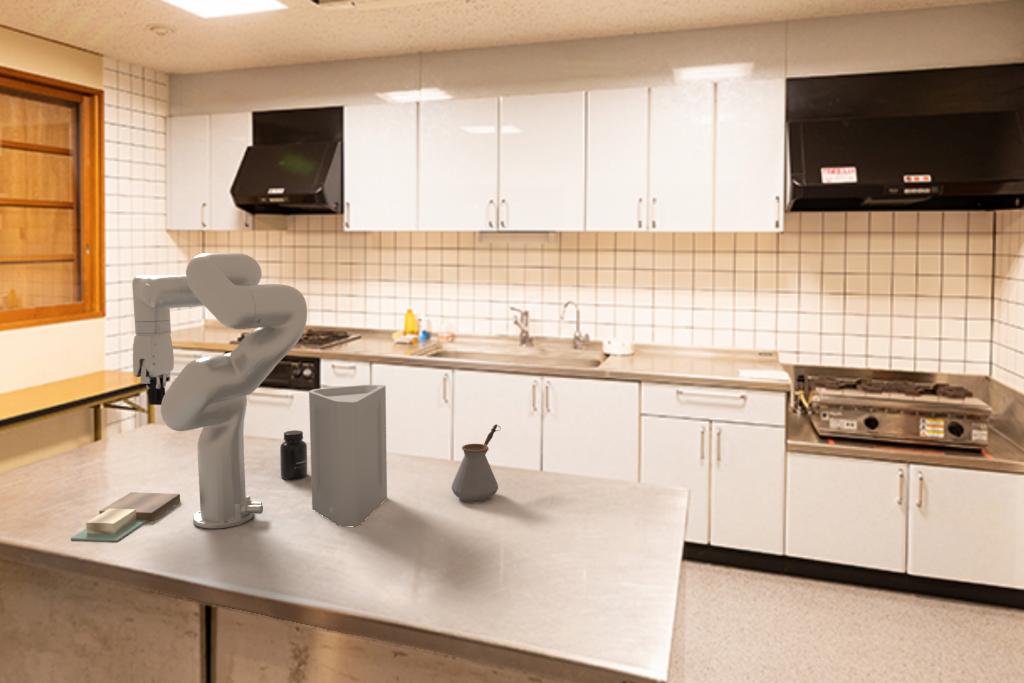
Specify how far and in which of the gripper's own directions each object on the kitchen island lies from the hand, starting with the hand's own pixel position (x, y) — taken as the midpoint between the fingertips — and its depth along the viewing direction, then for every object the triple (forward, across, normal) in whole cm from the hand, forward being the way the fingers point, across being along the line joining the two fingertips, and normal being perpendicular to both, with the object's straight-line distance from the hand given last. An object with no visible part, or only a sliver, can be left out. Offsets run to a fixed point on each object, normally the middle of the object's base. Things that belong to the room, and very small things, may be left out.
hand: (157, 403), depth 169 cm
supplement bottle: (+23, -18, +26) cm, 39 cm away
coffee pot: (+23, -11, +77) cm, 81 cm away
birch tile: (+23, +19, 0) cm, 30 cm away
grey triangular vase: (+23, +4, +46) cm, 52 cm away
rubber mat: (+23, +21, 0) cm, 31 cm away
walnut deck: (+23, +9, 0) cm, 25 cm away
